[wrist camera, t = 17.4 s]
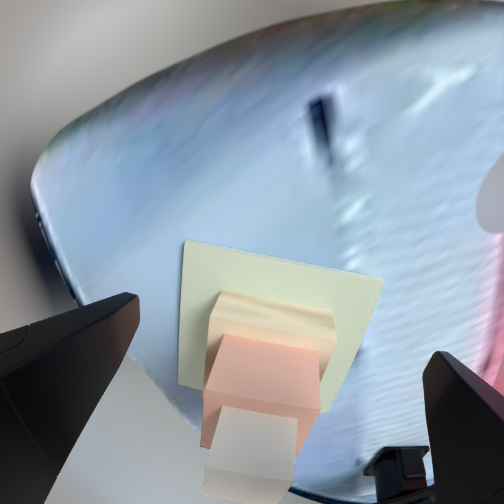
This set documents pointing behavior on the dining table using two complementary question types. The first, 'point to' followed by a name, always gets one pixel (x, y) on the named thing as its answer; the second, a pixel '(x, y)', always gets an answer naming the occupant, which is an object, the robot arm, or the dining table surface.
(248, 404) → the coral block
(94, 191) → the dining table surface
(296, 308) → the block
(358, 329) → the baseplate
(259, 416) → the cap block
